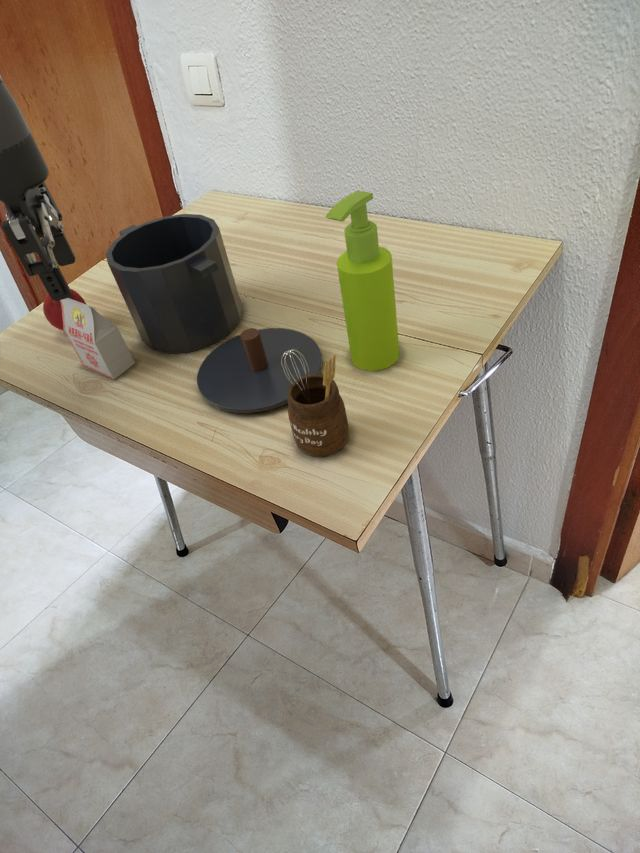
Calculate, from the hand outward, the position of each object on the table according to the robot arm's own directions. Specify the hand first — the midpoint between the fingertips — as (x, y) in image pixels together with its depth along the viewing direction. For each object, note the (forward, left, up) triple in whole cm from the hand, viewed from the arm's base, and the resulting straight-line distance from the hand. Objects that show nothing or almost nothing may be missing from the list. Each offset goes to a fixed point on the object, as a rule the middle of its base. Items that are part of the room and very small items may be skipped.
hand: (65, 280), depth 71 cm
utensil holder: (+24, -25, -13) cm, 37 cm away
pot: (+12, +5, -13) cm, 18 cm away
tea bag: (0, 0, -13) cm, 13 cm away
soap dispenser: (+33, -14, -13) cm, 38 cm away
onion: (-5, +11, -13) cm, 18 cm away
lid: (+19, -11, -12) cm, 25 cm away
